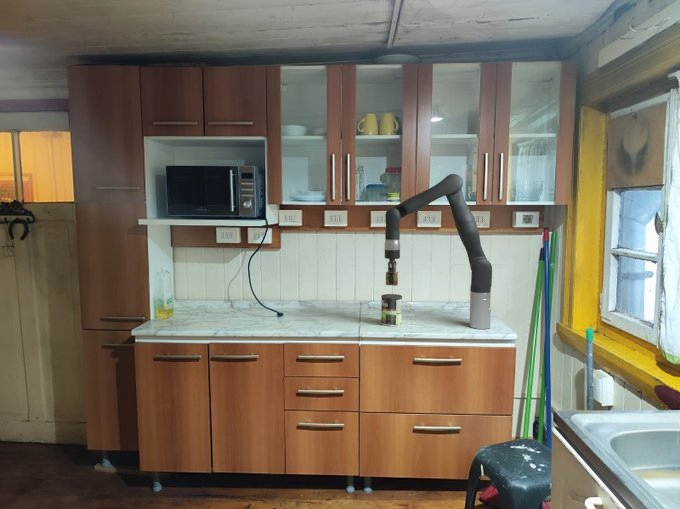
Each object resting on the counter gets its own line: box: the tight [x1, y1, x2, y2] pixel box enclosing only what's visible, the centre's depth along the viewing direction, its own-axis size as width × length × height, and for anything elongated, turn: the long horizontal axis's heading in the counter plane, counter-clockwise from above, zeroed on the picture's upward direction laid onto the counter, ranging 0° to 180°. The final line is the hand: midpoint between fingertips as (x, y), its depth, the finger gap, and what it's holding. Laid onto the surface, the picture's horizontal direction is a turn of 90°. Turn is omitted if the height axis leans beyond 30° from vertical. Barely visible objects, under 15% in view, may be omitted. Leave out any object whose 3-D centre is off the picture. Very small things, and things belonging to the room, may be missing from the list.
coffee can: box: [380, 293, 403, 327], centre depth 209 cm, size 10×10×14 cm
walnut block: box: [385, 271, 399, 287], centre depth 208 cm, size 6×6×6 cm
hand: (391, 282), depth 208 cm, fingers closed on walnut block, 5 cm apart
